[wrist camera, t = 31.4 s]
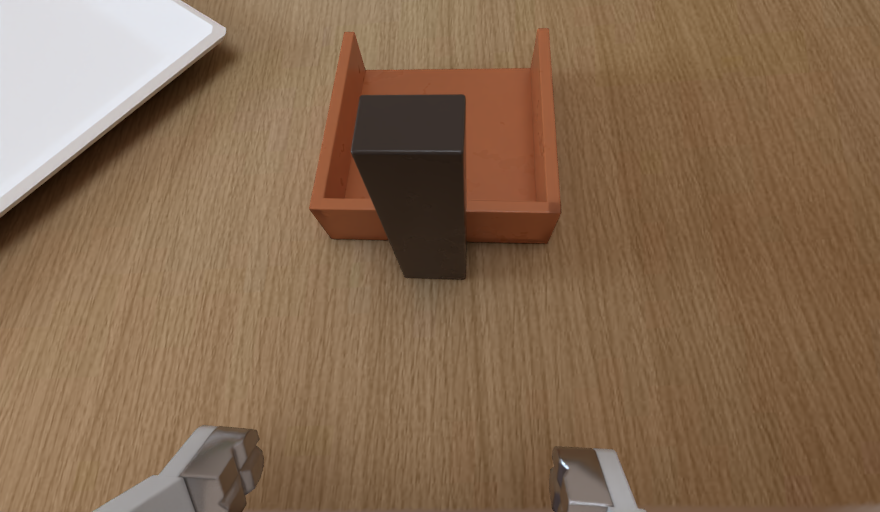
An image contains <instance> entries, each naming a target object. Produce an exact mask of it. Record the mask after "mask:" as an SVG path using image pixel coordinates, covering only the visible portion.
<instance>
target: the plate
mask: <svg viewBox="0 0 880 512" xmlns="http://www.w3.org/2000/svg"><path fill="white" fill-rule="evenodd" d="M225 34H226V28H225V27H223V26H222V25H220V24H219V23H217V22H215V21H214V20H212V19H210V18H209V17H207V16H206V15H204V14H202V13H201V12H199V11H197V10H196V9H194V8H193V7H191V6H189V5H188V4H186V3H184V2H183V1H181V0H0V218H1V217H2V216H3V215H4V214H6V213H7V212H8V211H9V210H11V209H12V208H13V207H14V206H16V205H17V204H18V203H19V202H21V201H22V200H23V199H24V198H26V197H27V196H28V195H29V194H31V193H32V192H33V191H34V190H36V189H37V188H38V187H40V186H41V185H42V184H43V183H45V182H46V181H47V180H48V179H50V178H51V177H52V176H53V175H55V174H56V173H57V172H58V171H60V170H61V169H62V168H63V167H65V166H66V165H67V164H68V163H70V162H71V161H72V160H73V159H75V158H76V157H77V156H78V155H80V154H81V153H82V152H83V151H85V150H86V149H87V148H88V147H90V146H91V145H92V144H93V143H95V142H96V141H97V140H99V139H100V138H101V137H102V136H104V135H105V134H106V133H107V132H109V131H110V130H111V129H112V128H114V127H115V126H116V125H117V124H119V123H120V122H121V121H122V120H124V119H125V118H126V117H127V116H129V115H130V114H131V113H132V112H134V111H135V110H136V109H137V108H139V107H140V106H141V105H142V104H144V103H145V102H146V101H147V100H149V99H150V98H151V97H152V96H154V95H155V94H156V93H158V92H159V91H160V90H161V89H163V88H164V87H165V86H166V85H168V84H169V83H170V82H171V81H173V80H174V79H175V78H176V77H178V76H179V75H180V74H181V73H183V72H184V71H185V70H186V69H188V68H189V67H190V66H191V65H193V64H194V63H195V62H196V61H198V60H199V59H200V58H201V57H203V56H204V55H205V54H206V53H208V52H209V51H210V50H211V49H213V48H214V47H215V46H217V45H218V44H219V43H220V42H222V40H223V38H224V36H225Z"/></svg>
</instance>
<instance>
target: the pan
mask: <svg viewBox="0 0 880 512" xmlns="http://www.w3.org/2000/svg"><path fill="white" fill-rule="evenodd" d="M309 209H310V211H311V212H312V213H313V215H314V216H315V218H316V219H317V220H318V222H319V223H320V224H321V226H322V227H323V228H324V230H325V231H326V232H327V234H328V235H329V236H330V238H331V239H365V240H389V242H390V244H391V247H392V249H393V251H394V254H395V256H396V258H397V261H398V263H399V265H400V268H401V270H402V272H403V275H404V277H406V278H434V279H465V278H466V252H467V242H498V243H543V244H547V243H548V241H549V239H550V237H551V235H552V232H553V230H554V228H555V226H556V223H557V221H558V219H559V217H560V214H561V202H560V187H559V172H558V157H557V142H556V127H555V113H554V98H553V83H552V68H551V53H550V38H549V29H548V28H539V29H538V30H537V35H536V40H535V46H534V52H533V57H532V63H531V68H514V69H422V70H365V67H364V63H363V60H362V57H361V53H360V50H359V46H358V43H357V39H356V36H355V33H354V32H344V36H343V41H342V46H341V51H340V56H339V61H338V66H337V71H336V76H335V81H334V86H333V91H332V96H331V101H330V106H329V111H328V116H327V121H326V126H325V131H324V137H323V142H322V147H321V152H320V157H319V162H318V167H317V172H316V177H315V182H314V187H313V192H312V197H311V202H310V207H309Z"/></svg>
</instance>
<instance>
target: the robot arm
mask: <svg viewBox="0 0 880 512" xmlns="http://www.w3.org/2000/svg"><path fill="white" fill-rule="evenodd" d="M258 441H259V436H258V432H257V430H254V429H245V428H234V427H222V426H207V425H202V426H200V427H199V428H197V429H196V430H195V431H194V432H193V434H192V435H191V436H190V437H189V439H188V440H187V441H186V442H185V443H184V445H183V446H182V447H181V448H180V449H179V451H178V452H177V453H176V454H175V456H174V457H173V458H172V459H171V460H170V462H169V463H168V464H167V465H166V467H165V468H164V469H163V470H162V471H161V473H160V474H159V475H152V476H151V477H149V478H147V479H146V480H144V481H142V482H141V483H139V484H137V485H136V486H134V487H132V488H131V489H129V490H127V491H126V492H124V493H122V494H121V495H119V496H117V497H116V498H114V499H112V500H111V501H109V502H107V503H106V504H104V505H102V506H101V507H99V508H97V509H96V510H94V511H92V512H242V511H243V509H244V508H245V506H246V497H245V495H247V494H248V493H249V492H251V491H252V490H253V489H255V487H256V486H257V484H258V482H259V480H260V478H261V474H262V471H263V467H264V456H263V452H262V450H261V449H260V448H259V447H257V446H256V444H257V442H258ZM552 459H553V464H554V467H552V468H551V469H550V478H549V490H550V499H551V505H552V509H553V511H554V512H647V511H646V510H645V509H638V507H637V504H636V502H635V499H634V497H633V494H632V492H631V489H630V487H629V484H628V481H627V479H626V476H625V474H624V471H623V469H622V466H621V464H620V461H619V458H618V456H617V453H616V452H615V451H614V450H613V449H596V448H594V449H592V448H579V447H557V446H555V447H554V449H553V454H552Z"/></svg>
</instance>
